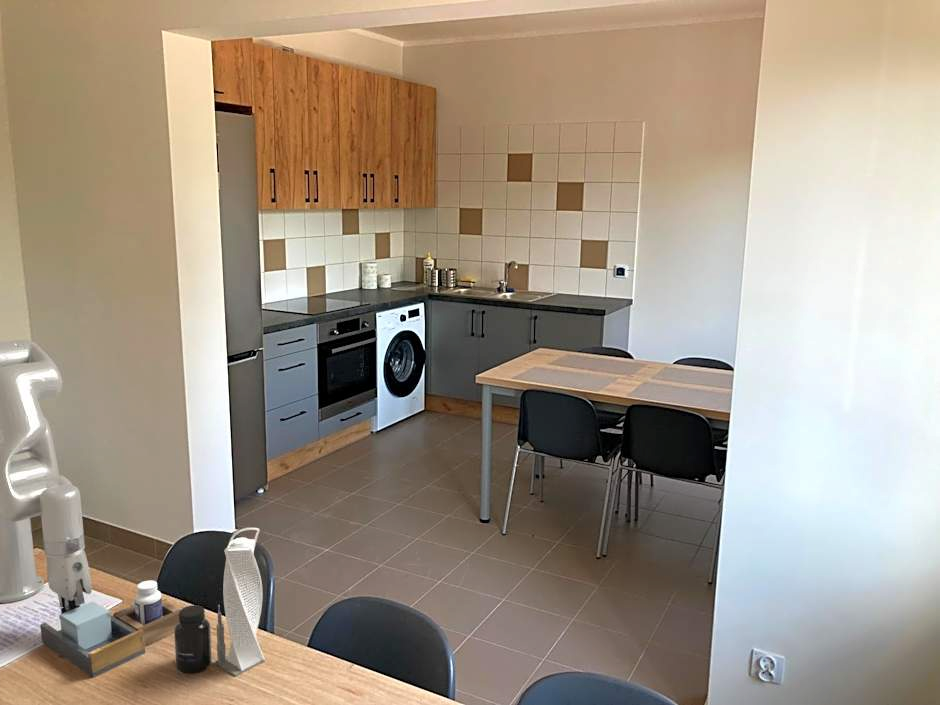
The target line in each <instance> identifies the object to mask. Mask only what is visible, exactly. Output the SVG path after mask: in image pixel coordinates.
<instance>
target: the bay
mask: <svg viewBox="0 0 940 705" xmlns="http://www.w3.org/2000/svg"><path fill="white" fill-rule="evenodd" d="M110 618H111V630H112V638H110V639H108V640H105V641H103V642H101V643H99V644H97V645H94V646H92V647H90V648H88V649H84V648H82V647H81V646H79V645H78V644H76V643H75V642H73V641H72V640H70V639H69V638H67V637H66V636H64V635H63V634H62V632H61V629H58V630H57V629H56V628H54V627H52V626H51V625H50V624H48V623H46V622H43V623H41V624H40V627H39V628H40V636H41V643H43V644H45V645H46V646H47V647H49V648H50V649H51V650H53V651H54V652H56V653H57V654H58V655H60V656H61V657H63V658H64V659H66V660H67V661H68V662H70V663H71V664H72V665H74V666H76V667H77V668H78V669H80V670H81V671H82V672H84V673H85V674H87V675H88V676H90V677H91V678H96V677H98V676H100V675H102V674H104V673H106V672H108V671H110V670H113V669H114V668H117V667H119V666H121V665H122V664H125V663H126V662H129V661H131V660H133V659H135V658H137V657H139V656H141V655H144V654H145V653H146V647H145V642H144V630H142V629H140V630H138V631H136V630H135V629H133V628H131V627H130V626H128V625H126V624H125V623H123V622H121V621H120V620H118V619H116V618H115V617H113V615H111V616H110Z"/></svg>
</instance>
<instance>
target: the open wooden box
mask: <svg viewBox="0 0 940 705" xmlns="http://www.w3.org/2000/svg"><path fill="white" fill-rule="evenodd" d="M180 610H181V609H180V608H178V607H177V606H175V605H173V604H171V603H169V602H167V601H165V600H163V599H162V612H163V617H161V618H159V619H157V620H155V621H152V622H150V623H148V624H146V625H142V624H140V623H138V622H137V621H136V613H135V604H133V605H131V606H129V607H126V608H123V609H121V610H119V611H116V612H115V613H113V615H112V616H113V617H115V618H116V619H118V620H120V621H121V622H123V623H125V624H126V625H128V626H130V627H131V628H133V629H135V630H136V631H138V630H140V629H142V630H144V642H145V648H146V647H148V646H150V645H152V644H154V643H156V642H159V641H160V640H162V639H165V638H167V637H169V636H171V635H173V634H174V630H175V627H176V625H177V624H178V623H179V612H180Z"/></svg>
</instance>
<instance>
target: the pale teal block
mask: <svg viewBox="0 0 940 705" xmlns="http://www.w3.org/2000/svg"><path fill="white" fill-rule="evenodd" d="M110 616H112V613H111V611H110V610H109V609H107V608H105V607H104V606H101V604H98V603H96V602H95V601H94V600H93V601H90V602H88V603H86V604H85V603H84V604H82V605H80V607H77V608H75V609H73V610H70V611H68V612H65V613H63V614H59V616H58V617H59V618H58V619H59V622H60V630H61V632H62V634H63V635H64V636H66V637H67V638H69V639H70V640H72V641H73V642H75V643H76V644H78V645H79V646H81V647H82V648H84V649H88V648H90V647H92V646H94V645H97V644H99V643H101V642H103V641H105V640H108V639H110V638H112V630H111V618H110Z"/></svg>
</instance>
